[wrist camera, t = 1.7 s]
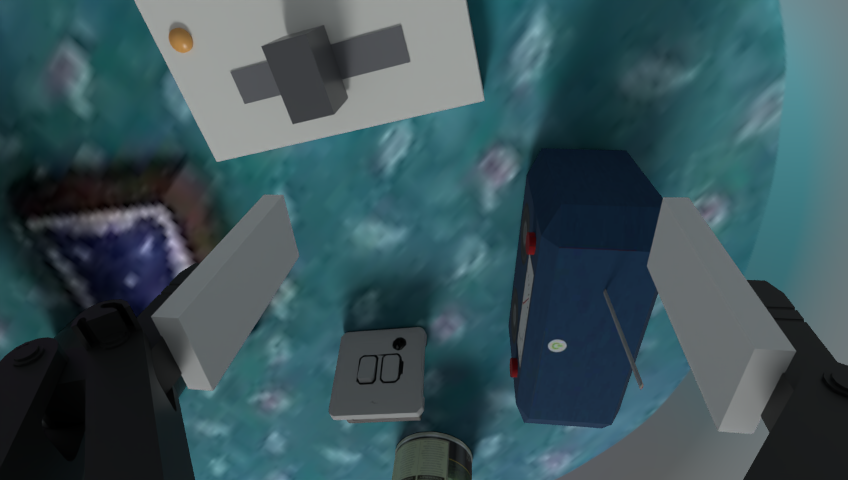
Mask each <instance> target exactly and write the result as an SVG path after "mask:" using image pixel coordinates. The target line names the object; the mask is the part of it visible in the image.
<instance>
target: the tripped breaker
mask: <svg viewBox="0 0 848 480" xmlns="http://www.w3.org/2000/svg"><path fill="white" fill-rule="evenodd" d="M261 47H262V50H263V52H264V55H265V57H266V60H267V62H268V64H269V67H270V69H271V72H272V74H273V77H274V79H275V82H276V84H277V87H278V89H279V92H280V94H281V97H282V99H283V102H284V104H285V106H286V109H287V111H288V114H289V116H290V119H291V121H292V124H296V123H301V122H305V121H309V120H313V119H317V118H322V117H326V116H330V115H334V114H335V113H336V112H337V111H338V110H339V108H340V107H341V106H342V105H343V104H344V103H345V101H346V100H347V99H348V95H347V92H346V89H345V86H344V83H343V80H342V77H341V74H340V71H339V68H338V65H337V62H336V59H335V56H334V53H333V50H332V47H331V44H330V41H329V38H328V35H327V32H326V29H325V26H324V25H322V26H318V27H315V28H311V29H307V30H304V31H300V32H297V33H293V34H290V35H286V36H283V37H281V38H279V39H276V40H274V41H272V42H270V43H267V44H265V45H263V46H261Z"/></svg>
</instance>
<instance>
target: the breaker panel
mask: <svg viewBox="0 0 848 480" xmlns="http://www.w3.org/2000/svg"><path fill="white" fill-rule="evenodd" d="M134 1H135V3H136V5H137V7H138V9H139V10H140V12H141V14H142V16H143V18H144V20H145V22H146V24H147V26H148V28H149V30H150V32H151V34H152V36H153V38H154V40H155V42H156V44H157V46H158V48H159V50H160V52H161V54H162V56H163V57H164V59H165V61H166V63H167V65H168V67H169V69H170V71H171V73H172V75H173V77H174V79H175V81H176V83H177V85H178V87H179V89H180V91H181V93H182V95H183V97H184V99H185V101H186V103H187V104H188V106H189V108H190V110H191V112H192V114H193V116H194V118H195V120H196V122H197V124H198V126H199V128H200V130H201V132H202V134H203V136H204V138H205V140H206V142H207V144H208V146H209V148H210V150H211V151H212V153H213V155H214V157H215V159H216V161H217V162H219V161H223V160H227V159H232V158H236V157H241V156H245V155H249V154H254V153H258V152H262V151H267V150H271V149H276V148H280V147H284V146H289V145H293V144H297V143H302V142H306V141H311V140H315V139H319V138H324V137H328V136H332V135H337V134H341V133H346V132H350V131H354V130H359V129H363V128H367V127H372V126H376V125H381V124H385V123H389V122H394V121H398V120H402V119H407V118H411V117H416V116H420V115H424V114H429V113H433V112H437V111H442V110H446V109H451V108H455V107H459V106H464V105H468V104H472V103H477V102H481V101H484V90H483V85H482V79H481V74H480V68H479V63H478V58H477V52H476V47H475V41H474V36H473V30H472V25H471V20H470V14H469V9H468V3H467V0H134ZM322 25H324V26H325V29H326V32H327V35H328V38H329V41H330V44H331V47H332V50H333V53H334V56H335V59H336V62H337V65H338V68H339V71H340V74H341V77H342V80H343V83H344V86H345V89H346V92H347V95H348V99H347V100H346V101H345V103H344V104H343V105H342V106H341V107H340V108H339V110H338V111H337V112H336V113H335V114H334V115H330V116H326V117H322V118H317V119H313V120H309V121H305V122H301V123H296V124H292V121H291V119H290V116H289V114H288V111H287V109H286V106H285V104H284V102H283V99H282V97H281V94H280V92H279V89H278V87H277V84H276V82H275V79H274V77H273V74H272V72H271V69H270V67H269V64H268V62H267V60H266V57H265V55H264V52H263V50H262V47H261V46H263V45H265V44H267V43H270V42H272V41H274V40H276V39H279V38H281V37H283V36H286V35H290V34H293V33H297V32H300V31H304V30H307V29H311V28H315V27H318V26H322Z"/></svg>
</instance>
